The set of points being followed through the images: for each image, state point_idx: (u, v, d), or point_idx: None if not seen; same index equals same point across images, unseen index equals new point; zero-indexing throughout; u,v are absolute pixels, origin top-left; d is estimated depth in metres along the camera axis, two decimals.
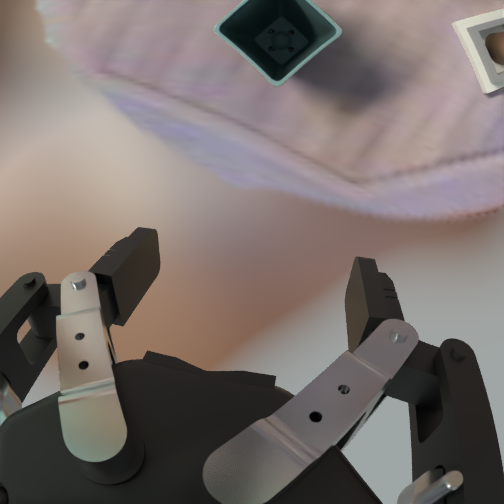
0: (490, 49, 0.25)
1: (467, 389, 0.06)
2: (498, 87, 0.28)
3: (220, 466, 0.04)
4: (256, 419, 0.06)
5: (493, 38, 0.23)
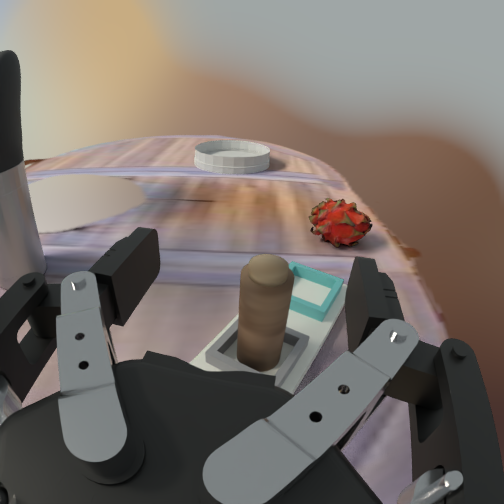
0: (244, 359, 0.30)
1: (467, 389, 0.06)
2: None
3: (220, 466, 0.04)
4: (256, 419, 0.06)
5: (237, 343, 0.30)
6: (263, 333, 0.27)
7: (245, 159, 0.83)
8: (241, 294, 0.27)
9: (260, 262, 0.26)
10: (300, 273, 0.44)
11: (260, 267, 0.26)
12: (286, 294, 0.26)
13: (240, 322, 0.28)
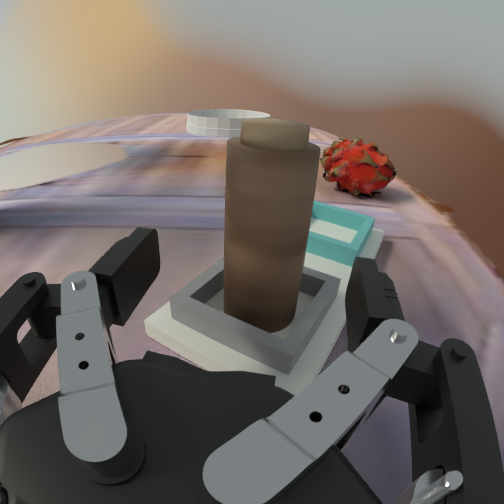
0: (236, 311, 0.18)
1: (467, 389, 0.06)
2: (315, 368, 0.16)
3: (220, 466, 0.04)
4: (256, 419, 0.06)
5: (224, 284, 0.18)
6: (267, 249, 0.15)
7: None
8: (228, 176, 0.15)
9: (261, 121, 0.15)
10: (315, 212, 0.32)
11: (261, 123, 0.14)
12: (309, 168, 0.14)
13: (227, 235, 0.16)
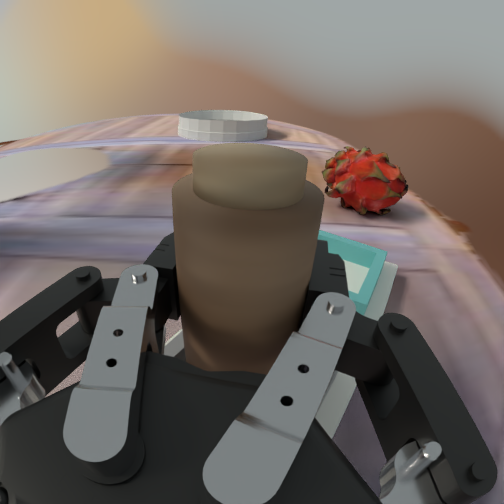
0: None
1: (417, 360, 0.07)
2: None
3: (220, 466, 0.04)
4: None
5: None
6: (238, 353, 0.10)
7: (238, 123, 0.66)
8: (175, 244, 0.09)
9: (228, 151, 0.09)
10: None
11: (224, 157, 0.08)
12: (305, 236, 0.08)
13: (183, 323, 0.11)
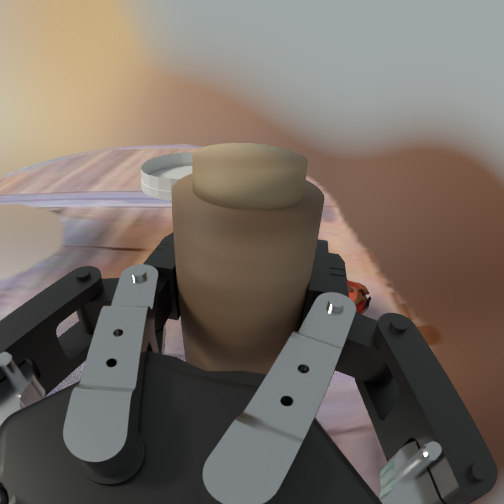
0: None
1: (417, 360, 0.07)
2: None
3: (220, 466, 0.04)
4: None
5: None
6: (238, 353, 0.10)
7: None
8: (175, 244, 0.09)
9: (227, 150, 0.09)
10: None
11: (224, 157, 0.08)
12: (305, 237, 0.08)
13: (182, 323, 0.11)
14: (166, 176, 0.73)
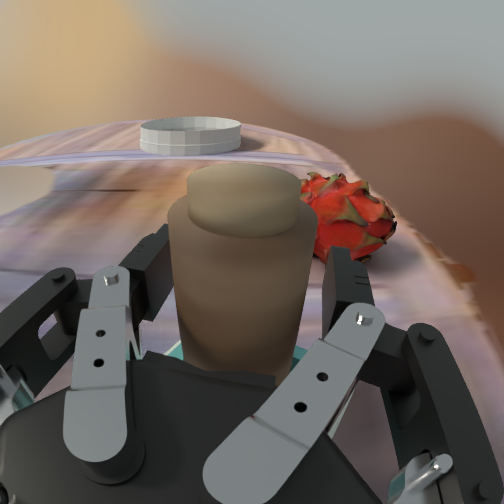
0: None
1: (441, 372, 0.07)
2: None
3: (220, 466, 0.04)
4: None
5: None
6: (235, 370, 0.10)
7: (201, 133, 0.57)
8: (172, 266, 0.10)
9: (222, 174, 0.09)
10: None
11: (218, 183, 0.09)
12: (298, 262, 0.09)
13: (181, 340, 0.11)
14: None
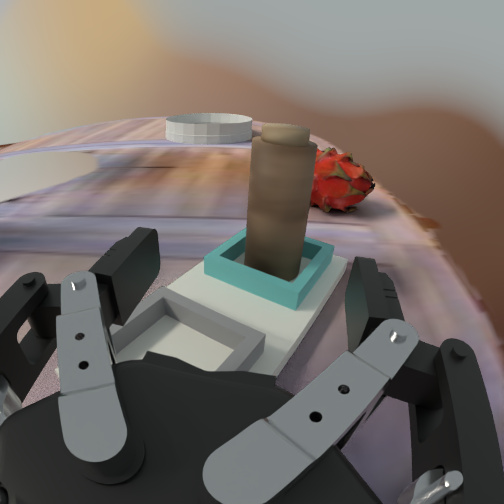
0: (255, 265, 0.24)
1: (467, 389, 0.06)
2: None
3: (220, 466, 0.04)
4: (256, 419, 0.06)
5: (246, 245, 0.25)
6: (280, 215, 0.21)
7: (220, 126, 0.68)
8: (252, 164, 0.21)
9: (276, 125, 0.21)
10: None
11: (276, 127, 0.20)
12: (310, 158, 0.20)
13: (251, 206, 0.22)
14: None
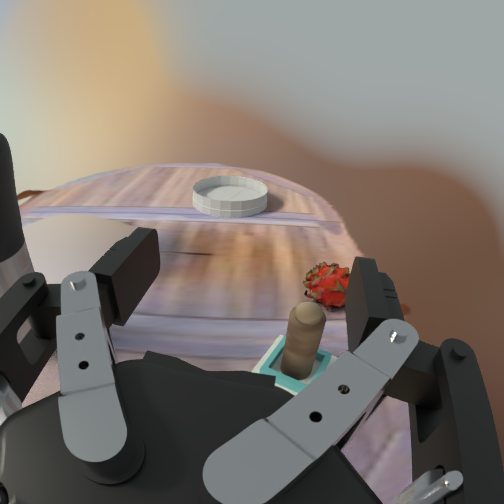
0: (288, 372, 0.41)
1: (467, 389, 0.06)
2: None
3: (220, 466, 0.04)
4: (256, 419, 0.06)
5: (282, 361, 0.42)
6: (304, 354, 0.38)
7: (242, 203, 0.85)
8: (290, 330, 0.38)
9: (303, 308, 0.38)
10: None
11: (304, 312, 0.37)
12: (321, 329, 0.37)
13: (287, 347, 0.39)
14: (211, 195, 0.96)
